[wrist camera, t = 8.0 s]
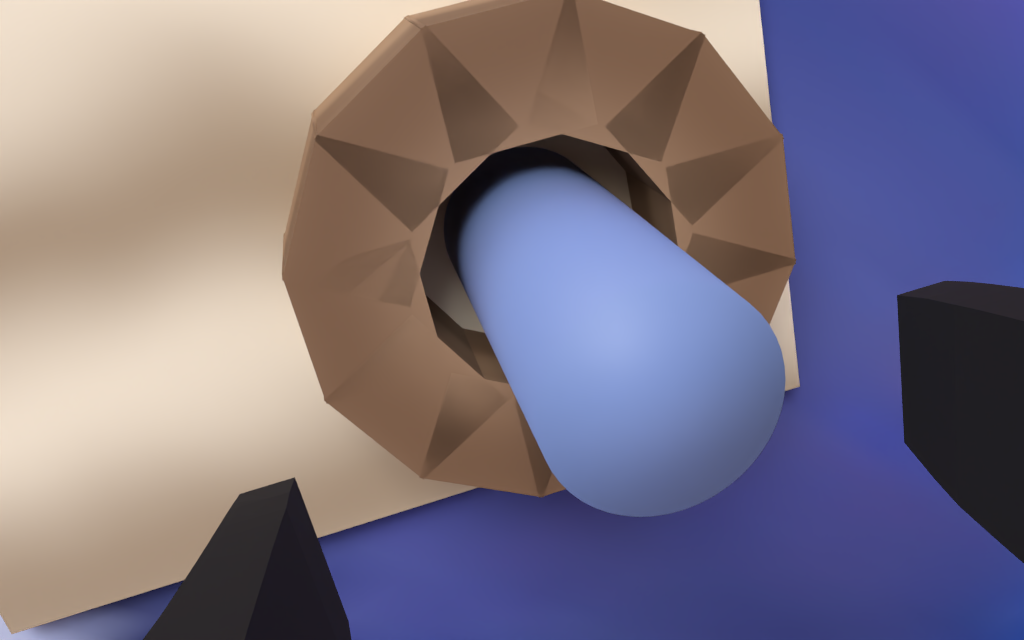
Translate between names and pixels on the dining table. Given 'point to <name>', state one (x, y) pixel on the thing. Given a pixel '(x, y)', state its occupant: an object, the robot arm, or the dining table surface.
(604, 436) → the peg
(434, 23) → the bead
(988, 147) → the dining table surface
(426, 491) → the board
